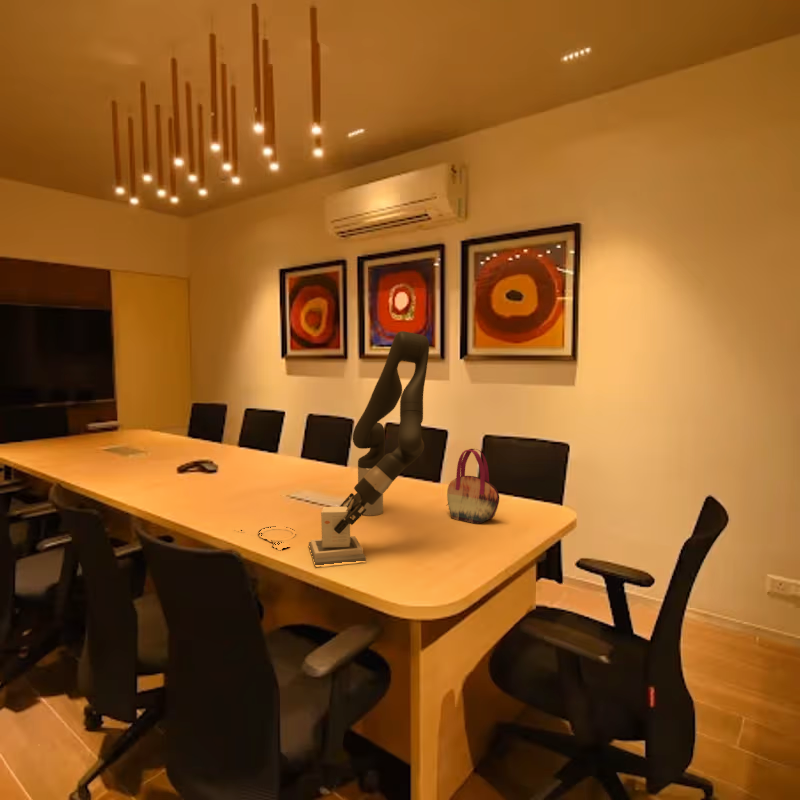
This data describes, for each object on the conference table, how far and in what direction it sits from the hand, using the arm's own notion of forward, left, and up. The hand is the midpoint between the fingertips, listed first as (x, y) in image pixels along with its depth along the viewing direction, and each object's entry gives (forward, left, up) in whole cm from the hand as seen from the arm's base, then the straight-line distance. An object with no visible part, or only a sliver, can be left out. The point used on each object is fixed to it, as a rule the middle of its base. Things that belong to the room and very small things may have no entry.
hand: (334, 527), depth 155 cm
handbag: (-22, +53, -8) cm, 57 cm away
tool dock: (0, +1, -8) cm, 8 cm away
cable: (-23, -16, -9) cm, 29 cm away
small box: (0, +1, -5) cm, 5 cm away
